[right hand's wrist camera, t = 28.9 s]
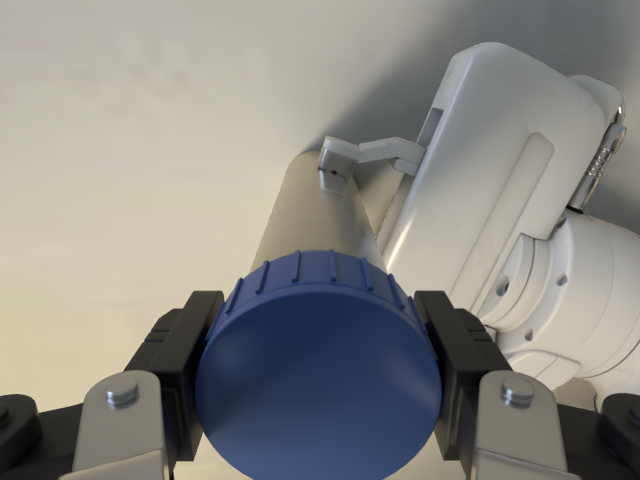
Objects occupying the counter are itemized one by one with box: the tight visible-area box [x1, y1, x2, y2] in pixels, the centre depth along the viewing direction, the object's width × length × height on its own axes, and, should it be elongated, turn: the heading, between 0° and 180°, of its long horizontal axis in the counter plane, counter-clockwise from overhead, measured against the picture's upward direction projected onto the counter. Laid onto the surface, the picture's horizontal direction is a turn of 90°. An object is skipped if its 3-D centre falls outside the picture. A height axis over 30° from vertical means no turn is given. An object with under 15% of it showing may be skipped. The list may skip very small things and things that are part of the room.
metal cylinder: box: [249, 149, 388, 274], centre depth 19 cm, size 4×4×20 cm
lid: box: [194, 249, 442, 480], centre depth 10 cm, size 5×5×2 cm
